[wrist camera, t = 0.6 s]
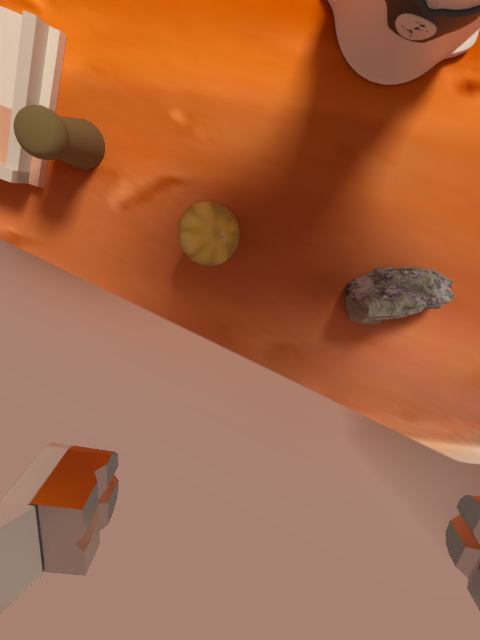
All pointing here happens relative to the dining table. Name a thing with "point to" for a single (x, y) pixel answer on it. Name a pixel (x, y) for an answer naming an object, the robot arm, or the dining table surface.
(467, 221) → the dining table surface
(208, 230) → the hamburger
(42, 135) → the cork
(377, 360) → the dining table surface
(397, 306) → the mineral rock
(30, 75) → the white tray
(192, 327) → the dining table surface
